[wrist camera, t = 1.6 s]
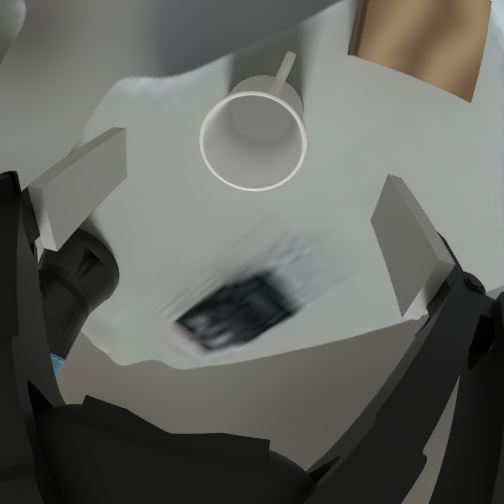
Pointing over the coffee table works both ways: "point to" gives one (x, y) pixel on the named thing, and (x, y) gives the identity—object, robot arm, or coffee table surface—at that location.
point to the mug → (256, 132)
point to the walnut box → (425, 39)
